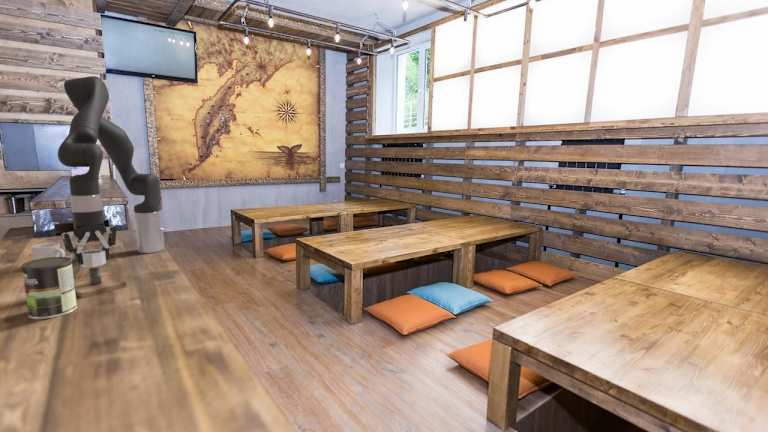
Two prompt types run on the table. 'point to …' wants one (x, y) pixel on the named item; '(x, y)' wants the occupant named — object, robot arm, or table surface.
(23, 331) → the table surface
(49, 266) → the coffee can
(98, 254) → the ring
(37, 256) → the cup
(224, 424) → the table surface
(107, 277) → the post block
